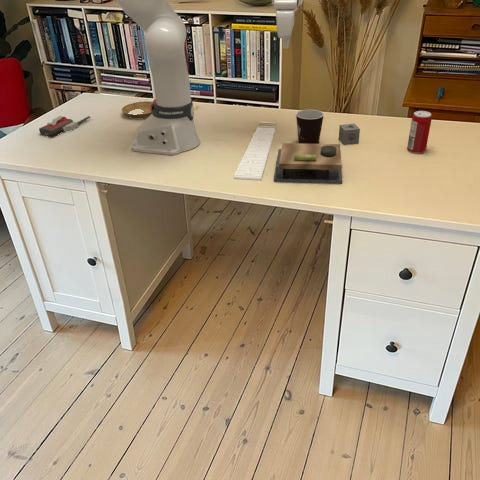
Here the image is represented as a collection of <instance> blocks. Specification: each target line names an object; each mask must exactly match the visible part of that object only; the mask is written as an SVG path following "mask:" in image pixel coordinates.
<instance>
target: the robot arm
mask: <svg viewBox="0 0 480 480" xmlns="http://www.w3.org/2000/svg"><path fill="white" fill-rule="evenodd" d="M115 2H117V4H118V6H119V7H120V8H121V9H122V11H123V12H124V14H125V15H126V16H128V17H130V19H132V20H133V22H135V23H136V24H137V25H138V26H139V28H141V30H142V31H143V32H144V33H145V34H144V41H143V42H144V47H145V52H146V55H147V57H146V58H147V60H148V65H149V68H150V73H151V75H152V76H151V77H152V81H153V88H154V89H153V90H154V96H155V97H154V99H153V100H152V101H151V102H152V105H151V107H150V112H152V114H151V115H150V116H149V117H148V118H145V119H144V120H143V121H142V122H141V123H140V124H139V126H138V128H137V134H136V137H135V138H134V139H133V140H132V142H131V145H130V146H131V150H132V152H139V153H148V154H150V153H151V154H157V155H158V154H159V155H167V156H175V155H177V154H180V153H182V152H186V151H189V150H192V149H194V148H197V147H198V146H199V144H200V143H201V140H200V137H199V136H198V132H197V129H196V124H195V121H194V120H195V119H194V117H195V111H194V110H195V108H194V101H193V100H192V96H191V85H190V75H189V72H188V66H187V60H186V59H187V58H186V53H185V42H186V39H187V28H186V25H185V23H184V21H183V20H182V18H181V17H180V16H179V15H178V13H177V12H176V11H175V10H174V9H173V7H172V6H171V5H170V3H169V2H168V1H167V0H115ZM302 4H303V0H271V5H272V6H273V10H275V21H276V33H277V37H278V38H279V39H282V48H283V49H284V50H285V49H286V50H287V49H289V48H290V40H291V39H290V38H291V37H292V33H293V29H294V26H295V13H296V11H298V10H299V6H301V5H302Z"/></svg>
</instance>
